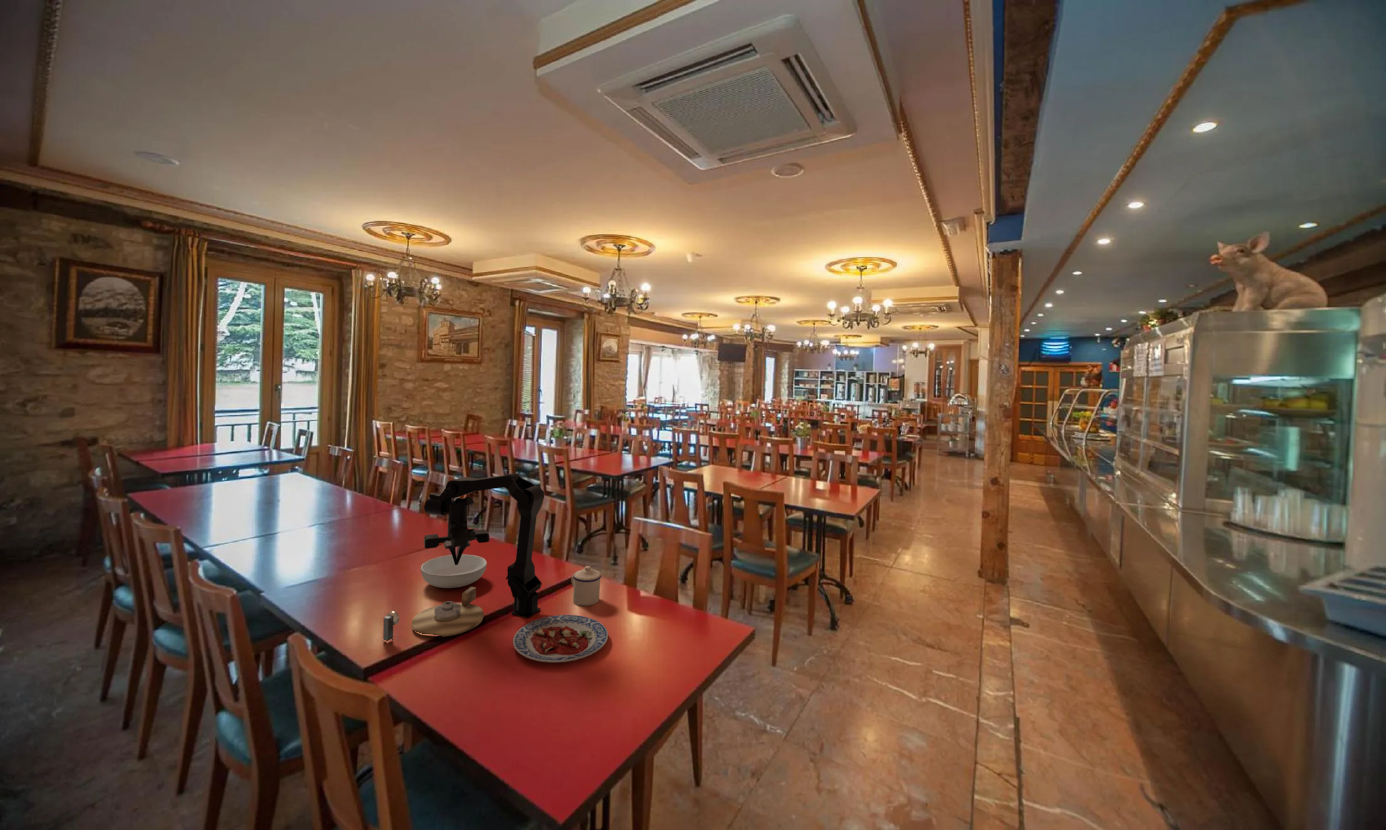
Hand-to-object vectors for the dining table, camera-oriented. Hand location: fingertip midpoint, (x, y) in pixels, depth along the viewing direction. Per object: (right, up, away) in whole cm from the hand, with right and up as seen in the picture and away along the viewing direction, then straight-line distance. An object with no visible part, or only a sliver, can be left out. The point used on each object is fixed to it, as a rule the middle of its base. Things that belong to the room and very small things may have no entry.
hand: (456, 564), depth 162 cm
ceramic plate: (+39, -16, -21) cm, 47 cm away
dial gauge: (-6, -13, -26) cm, 30 cm away
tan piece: (+4, -13, -13) cm, 19 cm away
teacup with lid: (+39, -14, +8) cm, 42 cm away
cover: (+4, -11, -13) cm, 18 cm away
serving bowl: (-8, -11, +15) cm, 20 cm away
